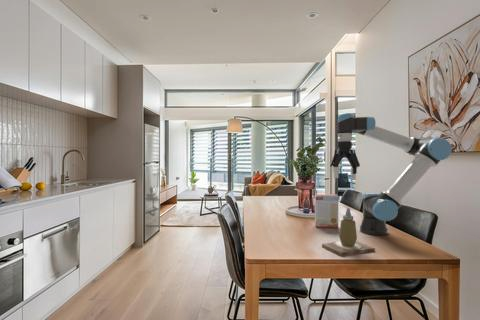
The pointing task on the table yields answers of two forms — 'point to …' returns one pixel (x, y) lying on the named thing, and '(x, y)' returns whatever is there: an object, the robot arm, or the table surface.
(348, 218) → the squeeze bottle
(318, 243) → the table surface
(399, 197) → the robot arm
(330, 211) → the cracker box
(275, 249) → the table surface
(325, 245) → the walnut board
